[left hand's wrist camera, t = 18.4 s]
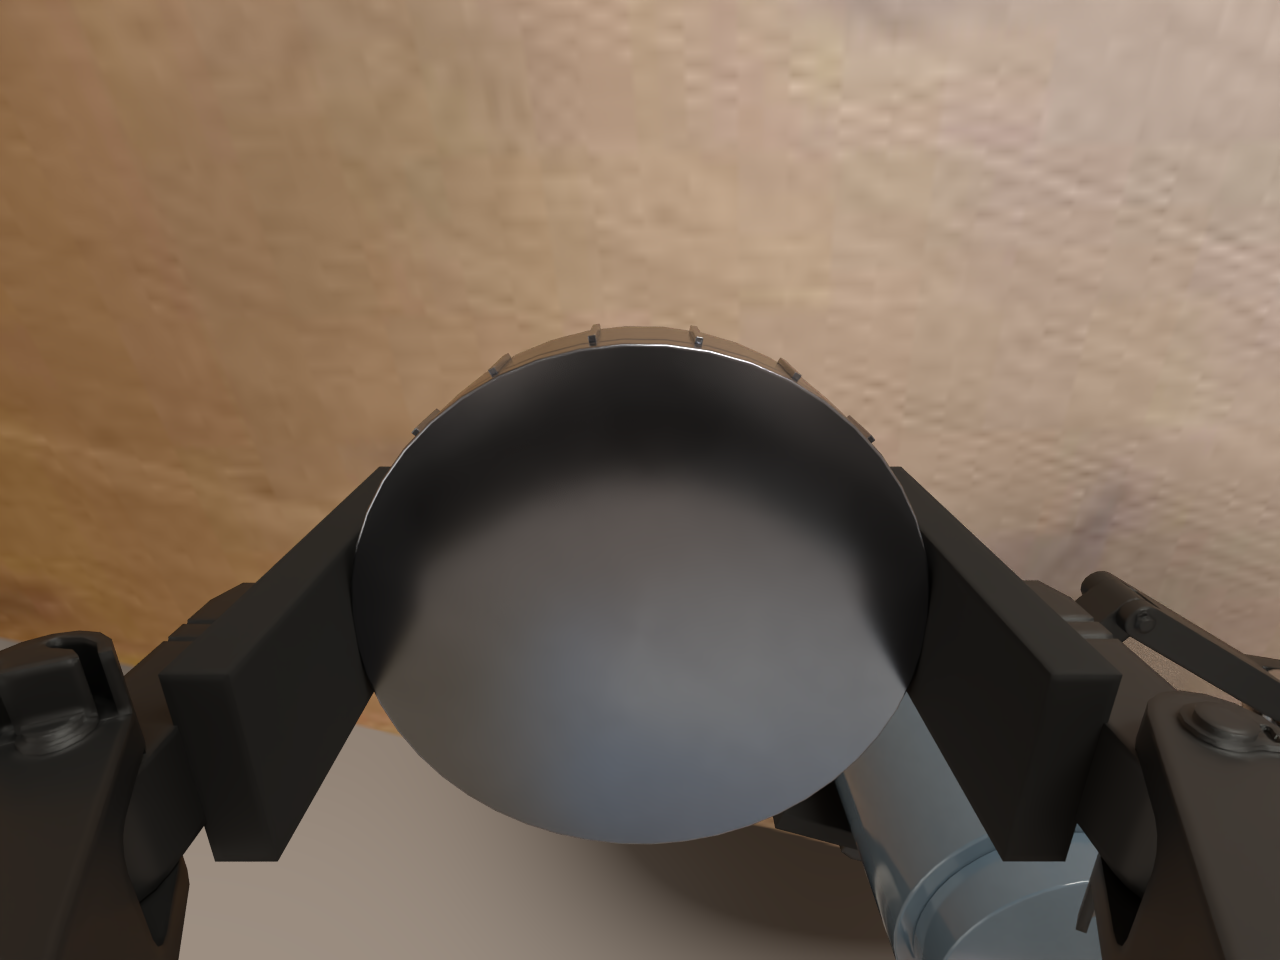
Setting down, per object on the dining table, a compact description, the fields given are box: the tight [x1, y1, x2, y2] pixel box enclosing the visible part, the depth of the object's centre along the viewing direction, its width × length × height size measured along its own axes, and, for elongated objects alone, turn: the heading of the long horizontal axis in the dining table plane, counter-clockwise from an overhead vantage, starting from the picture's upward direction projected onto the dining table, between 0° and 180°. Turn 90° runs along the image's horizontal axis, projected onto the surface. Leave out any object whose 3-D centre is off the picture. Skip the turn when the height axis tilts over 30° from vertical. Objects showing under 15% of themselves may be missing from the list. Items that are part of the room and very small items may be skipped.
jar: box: [834, 692, 1102, 960], centre depth 24 cm, size 8×8×15 cm
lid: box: [351, 324, 930, 844], centre depth 11 cm, size 9×9×2 cm
